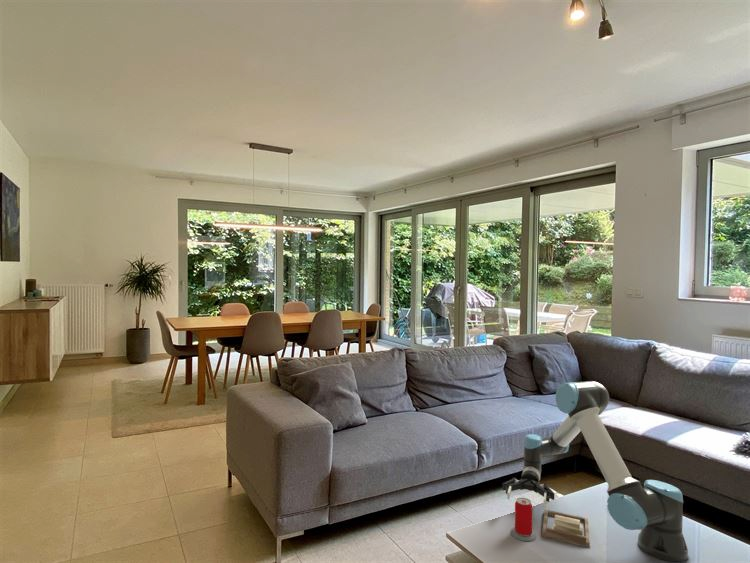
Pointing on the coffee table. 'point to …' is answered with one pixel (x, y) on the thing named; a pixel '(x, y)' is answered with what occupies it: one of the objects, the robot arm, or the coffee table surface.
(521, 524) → the beverage can
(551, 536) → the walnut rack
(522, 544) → the coffee table surface
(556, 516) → the plywood offcut stack
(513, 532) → the slate pad
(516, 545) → the coffee table surface
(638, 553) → the coffee table surface
